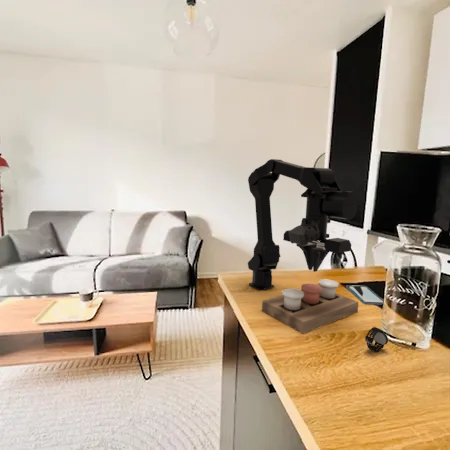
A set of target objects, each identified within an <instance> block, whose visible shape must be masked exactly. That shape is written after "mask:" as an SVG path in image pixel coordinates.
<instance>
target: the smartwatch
mask: <svg viewBox="0 0 450 450" xmlns="http://www.w3.org/2000/svg"><path fill="white" fill-rule="evenodd" d="M364 341H365V342H366V346H367V348H368V349H369V350H370V351H373V352H375V353H378V352H380V351H381V350H382V349H383V348H384V346H385V345H388V343H389V338H388V335H387V334H386V332H385V331H384V330H382V329H381V328H378V327H376V326H374V327H372V328H370V330H369V331H368V332H367V334H365V336H364Z"/></svg>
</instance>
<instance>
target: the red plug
mask: <svg viewBox="0 0 450 450" xmlns="http://www.w3.org/2000/svg"><path fill="white" fill-rule="evenodd" d="M300 290H302V291H303V292H304V297H303V301H304V302H306V303H310V304H316V303H319V293H321V292H322V287H321V286H320V285H319V284H316V283H315V284H314V283H303V284H301V287H300Z"/></svg>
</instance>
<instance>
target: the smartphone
mask: <svg viewBox="0 0 450 450" xmlns="http://www.w3.org/2000/svg"><path fill="white" fill-rule="evenodd" d="M345 288H346V289H347V290H348V291H349V292H350V293H351V294H353V296H354V297H356V298H357V299H358V300H359V301H360V302H361V303H362V304H364V305H368V306H371V305H374V306H376V305H377V306H383V305H382V304H383V300H384V299H383V298H382V297H381V296H379V295H378V294H377V293H375V292H374V291H373V290H372V289H371V288H369V286H367V285H360V284H359V285H357V284H355V285H352V284H349V285H348V284H346V286H345Z"/></svg>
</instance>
